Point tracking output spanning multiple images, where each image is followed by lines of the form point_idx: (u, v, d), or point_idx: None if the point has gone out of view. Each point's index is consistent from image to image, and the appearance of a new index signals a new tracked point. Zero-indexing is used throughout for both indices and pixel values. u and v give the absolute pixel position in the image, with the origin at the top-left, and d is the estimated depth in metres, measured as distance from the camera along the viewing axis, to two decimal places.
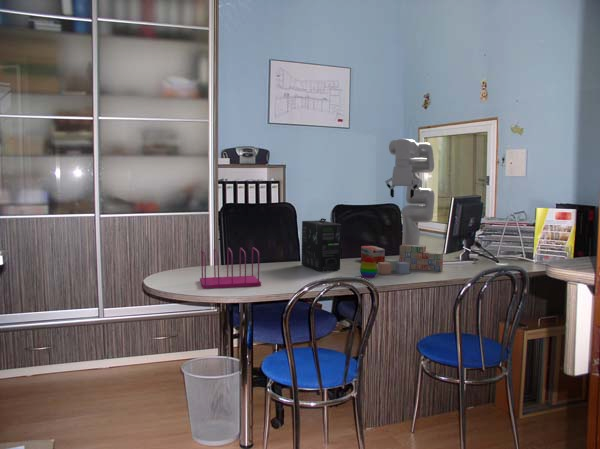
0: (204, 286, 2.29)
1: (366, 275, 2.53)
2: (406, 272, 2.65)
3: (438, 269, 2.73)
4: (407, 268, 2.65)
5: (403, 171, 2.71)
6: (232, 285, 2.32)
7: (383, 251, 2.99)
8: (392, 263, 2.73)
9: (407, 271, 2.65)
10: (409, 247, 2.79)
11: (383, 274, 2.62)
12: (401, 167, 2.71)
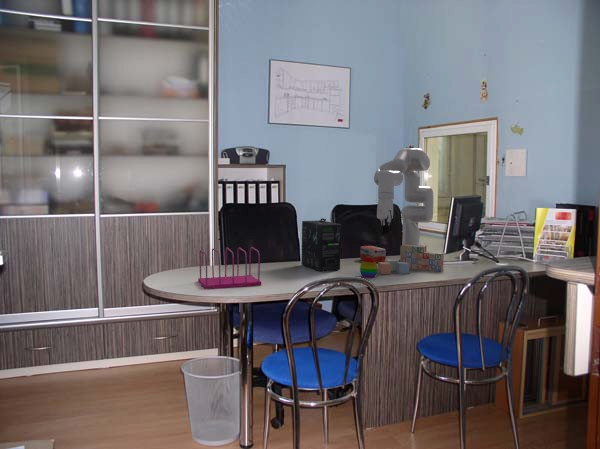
0: (206, 286, 2.28)
1: (366, 275, 2.53)
2: (406, 272, 2.65)
3: (439, 269, 2.73)
4: (407, 268, 2.65)
5: None
6: (233, 285, 2.32)
7: (384, 251, 3.00)
8: (392, 263, 2.73)
9: (407, 271, 2.65)
10: (410, 247, 2.79)
11: (383, 274, 2.62)
12: None
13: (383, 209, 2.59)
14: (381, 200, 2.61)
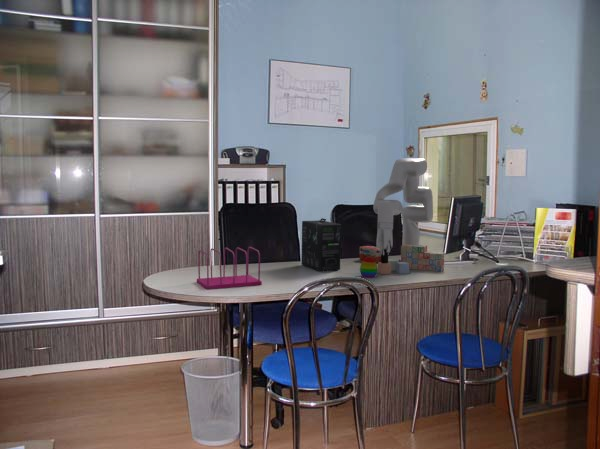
0: (207, 287, 2.28)
1: (366, 275, 2.53)
2: (406, 272, 2.65)
3: (439, 269, 2.73)
4: (407, 268, 2.65)
5: None
6: (234, 285, 2.32)
7: None
8: (392, 263, 2.73)
9: (407, 271, 2.65)
10: (410, 247, 2.79)
11: (383, 274, 2.62)
12: None
13: (382, 239, 2.60)
14: (381, 230, 2.63)
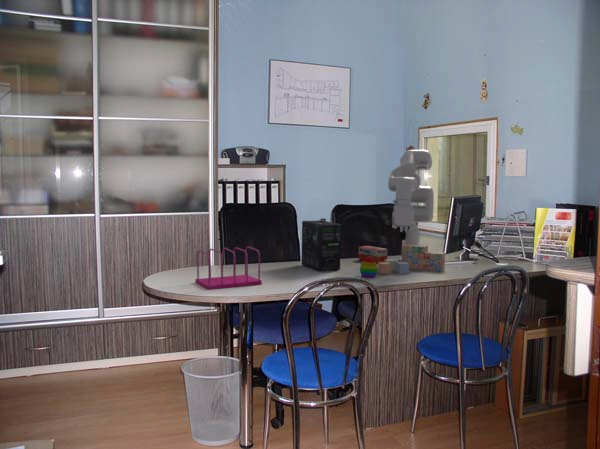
0: (209, 287, 2.27)
1: (366, 275, 2.53)
2: (406, 272, 2.65)
3: (439, 269, 2.73)
4: (407, 268, 2.65)
5: None
6: (235, 285, 2.33)
7: (386, 251, 3.01)
8: (392, 263, 2.73)
9: (407, 271, 2.65)
10: (411, 247, 2.80)
11: (383, 274, 2.62)
12: None
13: (412, 215, 2.63)
14: (407, 207, 2.62)
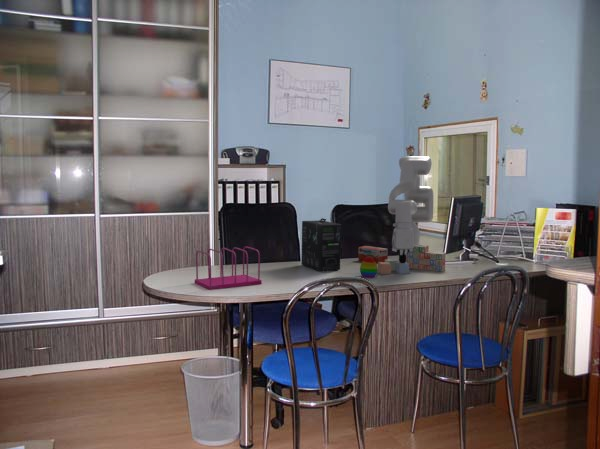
0: (210, 287, 2.27)
1: (366, 275, 2.53)
2: (406, 272, 2.65)
3: (440, 269, 2.73)
4: (407, 268, 2.65)
5: None
6: (236, 284, 2.33)
7: (386, 250, 3.02)
8: (392, 263, 2.73)
9: (407, 271, 2.65)
10: None
11: (383, 274, 2.62)
12: None
13: (412, 239, 2.64)
14: (407, 230, 2.63)
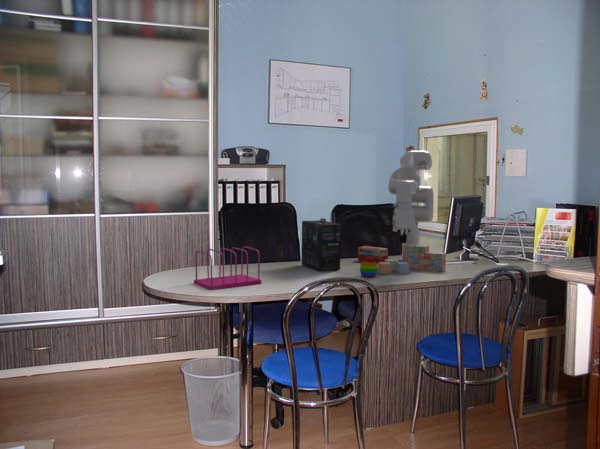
0: (211, 287, 2.27)
1: (366, 275, 2.53)
2: (406, 272, 2.65)
3: (440, 269, 2.73)
4: (407, 268, 2.65)
5: None
6: (236, 284, 2.33)
7: (387, 250, 3.02)
8: (392, 263, 2.73)
9: (407, 271, 2.65)
10: (412, 247, 2.80)
11: (383, 274, 2.62)
12: None
13: (412, 219, 2.64)
14: (408, 210, 2.62)
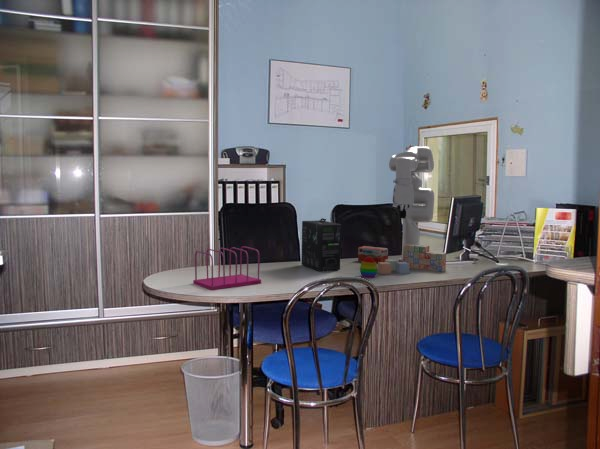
0: (212, 287, 2.26)
1: (366, 275, 2.53)
2: (406, 272, 2.65)
3: (440, 269, 2.73)
4: (407, 268, 2.65)
5: None
6: (237, 284, 2.33)
7: (387, 250, 3.03)
8: (392, 263, 2.73)
9: (407, 271, 2.65)
10: (412, 247, 2.80)
11: (383, 274, 2.62)
12: None
13: (412, 194, 2.72)
14: (407, 186, 2.71)
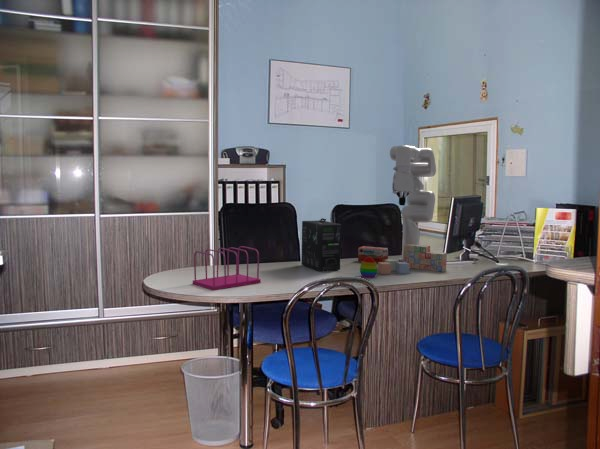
0: (214, 287, 2.26)
1: (366, 275, 2.53)
2: (406, 272, 2.65)
3: (440, 269, 2.73)
4: (407, 268, 2.65)
5: None
6: (237, 284, 2.34)
7: (387, 250, 3.04)
8: (392, 263, 2.73)
9: (407, 271, 2.65)
10: (412, 247, 2.81)
11: (383, 274, 2.62)
12: None
13: (411, 182, 2.78)
14: (407, 173, 2.77)
